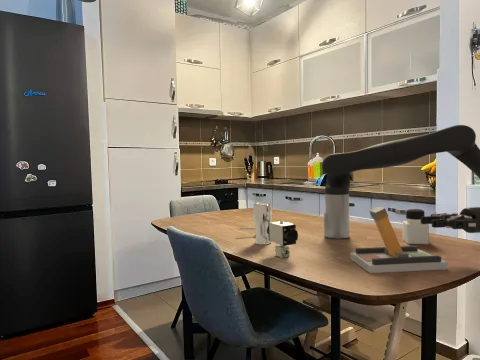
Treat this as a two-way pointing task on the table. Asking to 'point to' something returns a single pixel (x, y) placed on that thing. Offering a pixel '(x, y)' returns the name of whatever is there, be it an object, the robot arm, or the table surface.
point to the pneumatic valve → (282, 236)
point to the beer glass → (262, 222)
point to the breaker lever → (386, 230)
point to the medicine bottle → (415, 228)
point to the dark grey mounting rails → (399, 259)
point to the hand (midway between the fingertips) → (426, 222)
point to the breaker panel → (366, 263)
